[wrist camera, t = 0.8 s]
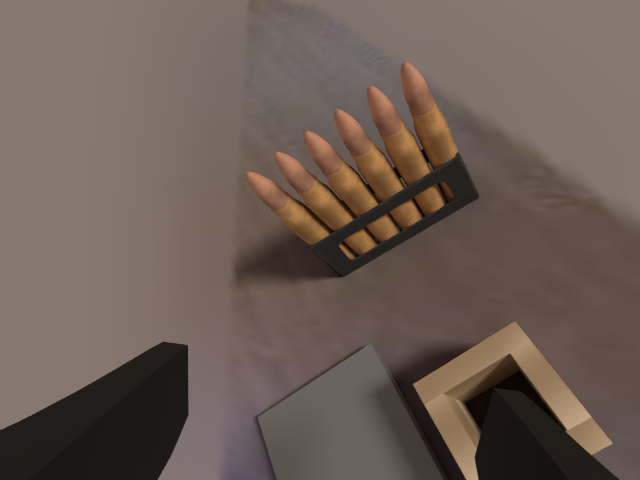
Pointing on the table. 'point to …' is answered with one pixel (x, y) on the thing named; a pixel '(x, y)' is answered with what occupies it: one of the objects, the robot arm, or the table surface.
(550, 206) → the table surface
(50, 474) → the robot arm
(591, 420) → the bead
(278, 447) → the grey peg stand
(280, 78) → the table surface
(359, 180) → the ammunition clip
